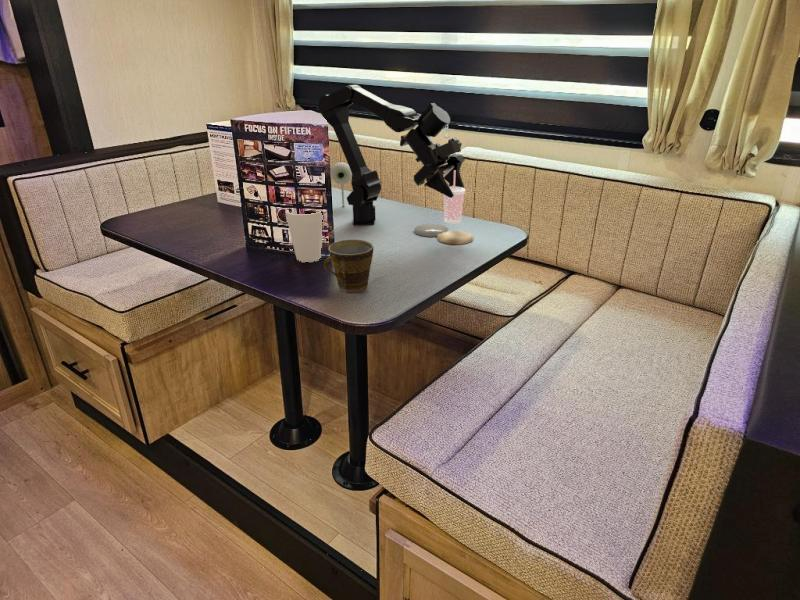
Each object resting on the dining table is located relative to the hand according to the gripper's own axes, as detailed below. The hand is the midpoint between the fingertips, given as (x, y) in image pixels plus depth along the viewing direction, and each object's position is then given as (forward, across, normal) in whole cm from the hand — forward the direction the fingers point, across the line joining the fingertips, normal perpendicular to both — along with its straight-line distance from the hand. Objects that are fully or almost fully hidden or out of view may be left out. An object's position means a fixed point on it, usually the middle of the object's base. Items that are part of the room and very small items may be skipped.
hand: (458, 194), depth 146 cm
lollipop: (-25, +10, +45) cm, 52 cm away
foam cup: (-8, -32, +28) cm, 44 cm away
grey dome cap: (+2, +3, +17) cm, 17 cm away
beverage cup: (+5, 0, +6) cm, 8 cm away
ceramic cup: (+7, -42, +12) cm, 45 cm away
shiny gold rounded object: (+8, +1, +10) cm, 13 cm away
